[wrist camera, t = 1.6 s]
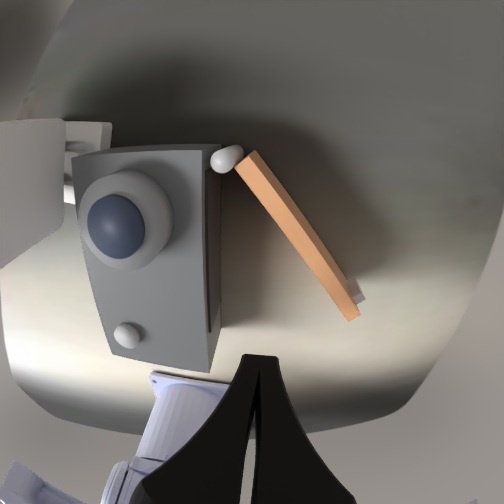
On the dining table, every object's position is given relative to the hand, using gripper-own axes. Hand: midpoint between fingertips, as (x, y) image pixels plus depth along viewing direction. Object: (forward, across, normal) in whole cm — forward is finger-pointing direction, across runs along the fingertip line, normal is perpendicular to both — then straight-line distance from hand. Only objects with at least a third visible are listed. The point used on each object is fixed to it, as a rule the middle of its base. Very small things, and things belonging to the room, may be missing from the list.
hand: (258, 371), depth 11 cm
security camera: (+8, +14, -7) cm, 18 cm away
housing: (+8, +6, -1) cm, 11 cm away
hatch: (+8, -1, -4) cm, 9 cm away
